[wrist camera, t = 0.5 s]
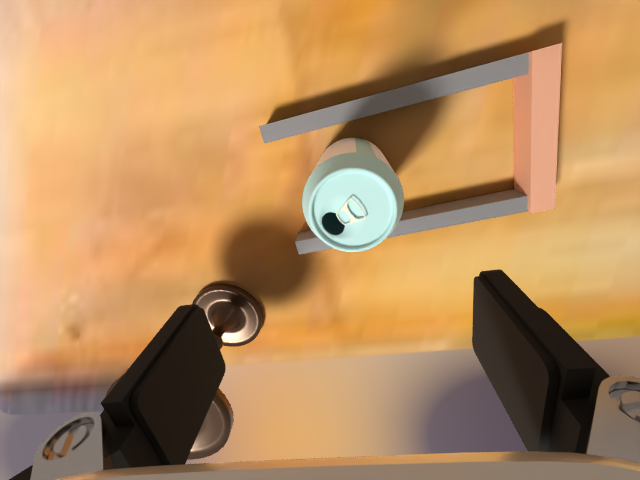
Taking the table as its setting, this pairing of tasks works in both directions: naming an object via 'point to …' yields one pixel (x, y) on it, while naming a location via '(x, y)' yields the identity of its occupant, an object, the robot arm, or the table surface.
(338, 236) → the can
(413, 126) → the table surface
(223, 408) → the candlestick
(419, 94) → the track
